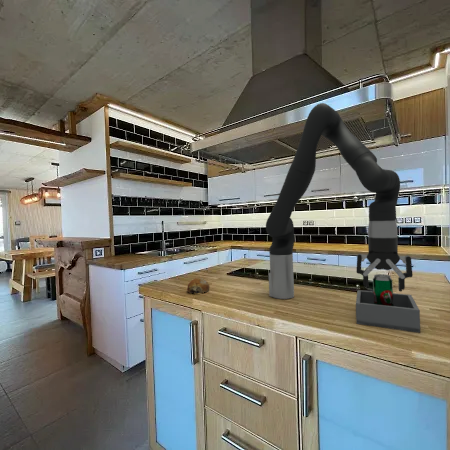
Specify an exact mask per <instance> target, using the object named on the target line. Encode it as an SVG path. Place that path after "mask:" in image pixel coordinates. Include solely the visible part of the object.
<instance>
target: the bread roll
mask: <svg viewBox="0 0 450 450" xmlns="http://www.w3.org/2000/svg"><path fill="white" fill-rule="evenodd" d="M208 290H209V291H210V284H209V282H208V281H207V280H206V279H205V278H203V277H195V278H193V279H192V280H191V281H190V282H189V283H188V285H187V293H188V292H189V293H188V294H190V293H202V294H204V293H203V292H206V293H208V292H209V291H208ZM207 291H208V292H207Z"/></svg>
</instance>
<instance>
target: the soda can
mask: <svg viewBox="0 0 450 450" xmlns="http://www.w3.org/2000/svg"><path fill="white" fill-rule="evenodd" d="M393 287H394V286H393V279H392V277H391V275H390V274H380V273H379V274H378V273H377V274H373V277H372V289H373V293H374V304H377V305H386V306H394V303H393V293H394V289H393Z"/></svg>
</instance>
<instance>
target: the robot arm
mask: <svg viewBox="0 0 450 450" xmlns="http://www.w3.org/2000/svg"><path fill="white" fill-rule="evenodd" d="M322 136H323V137H324V138H326V139H327V140H329V141H330V142H331V143H333V144H334V145H335V147H336V148H337V149H338V151H339V153H340V155H341V156H342V158H343V159H344V161H345V162H346V163H347V164H348V165H349V166H350V168H352V169H353V171H355V174H356V176H357V178H358V179H359V181H360V184H361V185H362V186H363V187H364V188H365V189H366V190H367V191H369V192H371V193H373V194H374V193H375V197H374V200H373V201H372V202H371V203H369V206H368V227H367V239H368V240H367V243H368V251H367V252H368V253H367V254H361V253H358V254H357V255H356V256H357V257H356V273H357V274H359V275H362V279H363V280H362V285H363V287H365V289H369V274H370V273H371V272H372V271H373V270H374V269H376V270H378V271H379V270H380V271H381V270H385V271H390V270H393V271H394V272H395V274H396V275H397V276H398V277H397V281H398V282H397V283H398V285H397V286H398V292H401V293H402V292H403V291H404V290H405V289H406V288H405V287H406V286H405V285H406V283H405V282H406V281H405V280H406V279H408V278H412V277H413V265H412V257H411V256H410V255H402V256H401V255H399V252H398V246H399V244H398V243H399V242H398V225H397V203H398V200H399V196H400V189H401V179H400V176H399V174H398V173H397V172H396V171H394V170H391V169H385V168H383V167H381V166H380V165H379V164H378V159H377V156H376V155H375V154H374V153H373V152H372V151H371V150H370V149H369V148H368V147H367V146H366V145H365V143H363V142H362V141H360V140H359V139H358V138H357V137H356V136H355V135H354V134H353V133H352V132H351V131H350V130H349V128H348V127H347V125H346V124H345V121H344V120H343V118H342V117H341V115H340V114H339V112H338V111H337V110H335V109H334V108H333V107H331V106H330V105H329V104H327V103H324V102H320V103H318V104H316V105H315V106H314V107H313V108H311V110H310V111H309V113H308V116H307V118H306V121H305V124H304V127H303V131H302V134H301V138H300V140H299V144H298V146H297V148H296V152H295V154H294V157H293V160H292V162H291V165H290V167H289V168H288V171H287V174H286V177H285V179H284V182H283V185H282V187H281V189H280V192H279V195H278V198H277V200H276V202H275V204H274V205H273V206H274V207H273V208H272V211H271V212H270V214H269V216H268V218H267V219H266V222H265V231H266V232H267V235H268V236H269V237H271V238H272V241H271V245H270V247H269V273H268V293H269V294H268V295H269V297H271V298H274V299H277V300H286V299H287V300H288V299H292V298H294V297H295V287H294V286H295V284H294V283H295V281H294V257H293V256H294V253H293V249H294V246H295V225H294V221H293V219H292V218H291V216H292V214H293V211H294V208H295V207H296V205H297V204H298V202H299V201H300V200H301V198H302V197H303V196H304V195H305V193H306V191H307V190H308V189H309V186H310V184H311V182H312V180H313V177H314V175H315V172H316V163H317V147H318V144H319V141H320V138H321V137H322ZM365 259H367V260H368V262H369V263H370V264H368V265H367V267H366V268H365V269H362V262H365ZM400 261H401V262H402V263H403V264H404V265H405V272H402V271H401V270H400V268H399V267H398V266H397V264H398V263H399V262H400Z"/></svg>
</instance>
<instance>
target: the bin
mask: <svg viewBox="0 0 450 450" xmlns="http://www.w3.org/2000/svg"><path fill="white" fill-rule="evenodd" d="M356 290H357V289H356ZM393 303H394V306H386V305H377V304H374V293H373V291H372V290H360V289H358V290H357V293H356V299H355V319H356V321H355V322H356V324H358V325H363V326H371V327H378V328H384V329H392V330H397V331H399V330H400V331H405V332H413V333H418V334H419V333H420V334H421V313H420V312H421V311H420V308H419V307H418V304H417V302H416V301H415V299H414V297H413V296H412V294H405V293H395V292H393Z"/></svg>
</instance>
